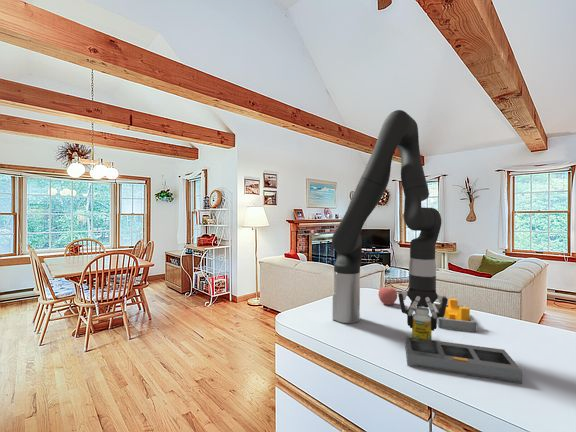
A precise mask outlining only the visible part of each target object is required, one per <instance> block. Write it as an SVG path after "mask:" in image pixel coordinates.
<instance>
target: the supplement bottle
mask: <svg viewBox="0 0 576 432" xmlns="http://www.w3.org/2000/svg"><path fill="white" fill-rule="evenodd" d="M429 313H430V309H429V307H428V308H425V307H417V306H416V308H415V310H414V313H413V314H412V316H413V328H411V330H412V331H411V333H412V334H411V337H412V338H420V339H427V340H432V330H431V316H430V314H429Z"/></svg>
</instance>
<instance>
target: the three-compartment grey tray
mask: <svg viewBox="0 0 576 432" xmlns="http://www.w3.org/2000/svg"><path fill="white" fill-rule="evenodd" d="M404 350H405V356H406V364H407V367H408V366H409V367H415V368H420V369H426V370H433V371H439V372H445V373H450V374H452V373H453V374H458V375H465V376H471V377H477V378H482V379H489V380H495V381H499V382H500V381H501V382H506V383H507V382H508V383H512V384H520V385H522V384H523V370H522V369H521V368H520V366H519V365H518V364H517V363H516V361H514V359H513V358H512V357H511V356H510V355H509V354H508V352H507V351H506V350H505V349H502V348H497V347H495V348H494V347H486V346H478V345H472V344H466V343H465V344H463V343H456V342H449V341H442V340H435V339H431V340H427V339H420V338H412V336H411V337H410V336H405V338H404Z"/></svg>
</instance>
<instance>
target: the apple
mask: <svg viewBox="0 0 576 432" xmlns="http://www.w3.org/2000/svg"><path fill="white" fill-rule="evenodd" d="M378 298H379V301H380V302H381V303H382V304H384V305H386V306H391V305H393V304H395V302H396V301H397V299H398V293H397V291H396V289H395V288H393V287H390V286H389V285H387V286H382V287H381V288H380V289H378Z"/></svg>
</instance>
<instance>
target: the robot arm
mask: <svg viewBox="0 0 576 432" xmlns="http://www.w3.org/2000/svg"><path fill="white" fill-rule="evenodd" d="M419 137H420V136H419V127H418V123H417V122H416V120H415V119H414V118H413V117H412V116H411V115H410V114H408V113H407V112H406V111H404V110H401V109H397V110H396V109H395V110H394V111H391V112H390V114H388V115H387V117H386V118H384V121H383V123H382V125H381V128H380V131H379V134H378V136H377V139H376V142H375V145H374V148H373V149H372V153H371V155H370V157H369V159H368V161H367V164H366V167H365V168H364V171H362V172H363V173H362V175H361V176H360V178H359V181H358V183H357V185H356V187H355V190H354V192H353V195H352V197H351V199H350V202H349V203H348V207H347V209H346V212H345V214H344V215H343V217H342V219H341V221H340V222H339V224H338V226H337V227H336V229H335V231H334V232H333V234H332V238H331V245H332V248H333V250H334V251H335V252H336V259H335V262H334V263H333V292H332V318H331V319H332V321H337V322H338V323H341V324H342V323H343V324H354V323H355V324H356V323H358V322H359V321H360V320H361V319H360V316H361V313H360V309H361V307H360V305H361V303H360V302H361V301H360V300H361V299H360V298H361V297H360V296H361V295H360V294H361V291H360V290H361V266H362V253H363V238H362V235H361V232H362V229H363V228H364V227H363V226H364V225H365V223H366V221H367V220H368V218H369V216H370V215H371V214H372V213H373V211H374V210H375V209H376V207H377V206H378V204H379V202H380V201H381V199H382V197H383V196H384V194H385V192H386V190H387V187H388V184H389V181H390V177H391V169H392V160H393V157H394V154H395V151H396V149H398V152H399V156H400V160H401V161H400V163H401V165H400V180H401V181H400V182H401V185H402V191H403V194H404V206H403V207H404V209H403V220H404V223H405V225H406V227H407V228H408V230H409V229H410V230H411V231H413V232H414V231H415V232H417V231H418V232H419V231H420V233H419V236H418V237H416V238H413V239H411V240H410V243H409V245H410V246H409V263H408V289H407V291H405V292H401V291H399V292H398V293H397V297H398V301H399V306H400V310H401V311H400V312H401V313H402V314H404V315H406V317H407V318H406V319H407V320H406V321H407V322H406V323H407V326H408V327H409V328H410V329H412V328H413V314H414V313H415V311H414V310H415V308H416V307H425V308H428V309H429V312H430V314H431V316H430V317H431V332H435V330H437V328H438V325H437V318H439V317H441V318H444V317H445V316H444V314H445V310H446V306H447V304H448V299H449V298H447V296H445V295H443V296H442V295H439V294H437V264H436V245H437V241H438V238H439V235H440V232H441V227H442V216H441V213H440V212H439V211H438V209H436V207H435V208H434V207H422V202H424V201H425V200H427V199H428V198H429V197H430V191H429V186H428V183H427V180H426V176H425V175H426V174H425V171H424V167H423V163H422V158H421V152H420V140H419ZM407 297H408V298H409V300H410V301H411V302H410V304H409V307H408V308H406V305H405V301H406V300H407ZM436 300H438V302H439V303H438V304H440V307H439V311H438V312H435V310H434V308H433V305H432V304H433V303H435V302H436Z"/></svg>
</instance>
